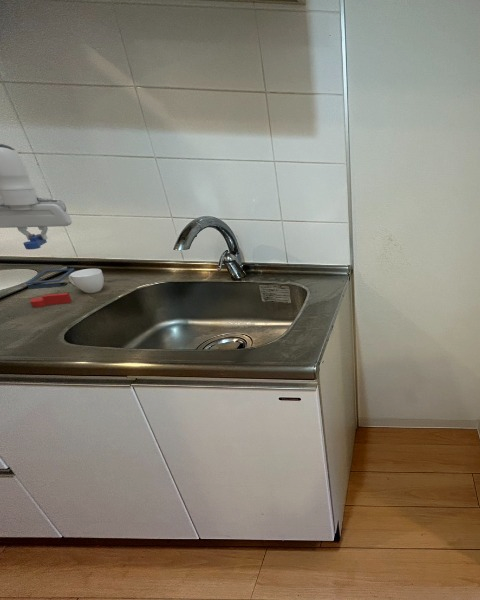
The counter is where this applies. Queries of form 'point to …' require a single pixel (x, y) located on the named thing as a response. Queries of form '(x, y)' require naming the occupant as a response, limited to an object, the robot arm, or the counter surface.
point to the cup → (88, 280)
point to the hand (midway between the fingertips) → (38, 239)
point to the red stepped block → (51, 299)
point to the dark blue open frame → (48, 280)
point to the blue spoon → (34, 243)
